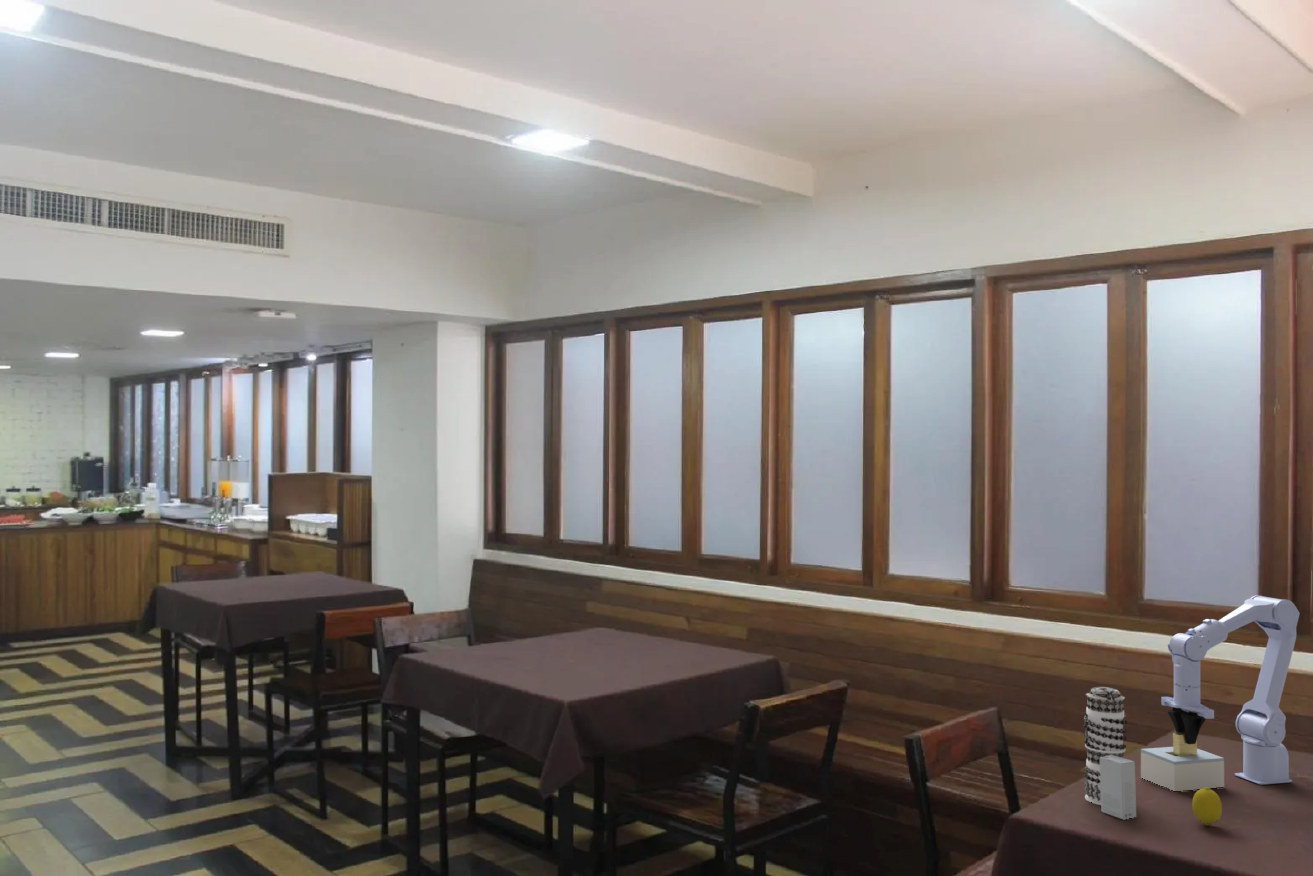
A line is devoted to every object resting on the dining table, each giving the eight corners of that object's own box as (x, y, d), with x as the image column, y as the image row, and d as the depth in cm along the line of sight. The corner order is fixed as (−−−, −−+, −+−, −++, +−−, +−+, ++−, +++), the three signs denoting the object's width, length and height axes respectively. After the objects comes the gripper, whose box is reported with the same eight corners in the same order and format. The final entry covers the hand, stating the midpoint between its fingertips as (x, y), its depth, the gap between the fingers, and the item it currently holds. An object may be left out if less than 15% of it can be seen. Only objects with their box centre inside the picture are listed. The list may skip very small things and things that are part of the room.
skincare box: (1137, 818, 222) (1137, 761, 223) (1122, 821, 220) (1122, 763, 221) (1113, 809, 228) (1113, 753, 228) (1098, 812, 226) (1098, 756, 226)
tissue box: (1188, 774, 255) (1188, 745, 255) (1224, 788, 244) (1224, 758, 244) (1140, 778, 251) (1140, 749, 251) (1174, 792, 241) (1174, 761, 241)
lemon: (1225, 831, 215) (1225, 792, 215) (1196, 829, 216) (1196, 790, 216) (1216, 822, 220) (1216, 784, 220) (1188, 820, 221) (1188, 782, 222)
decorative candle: (1133, 800, 234) (1133, 689, 235) (1119, 810, 227) (1119, 695, 228) (1092, 791, 240) (1092, 683, 241) (1077, 800, 234) (1077, 689, 234)
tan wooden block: (1190, 752, 248) (1190, 731, 248) (1197, 754, 246) (1196, 733, 247) (1173, 754, 247) (1172, 733, 247) (1179, 756, 245) (1179, 735, 245)
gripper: (1150, 679, 253) (1150, 735, 253) (1196, 692, 239) (1196, 751, 239) (1174, 678, 255) (1174, 733, 255) (1221, 690, 241) (1221, 749, 241)
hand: (1186, 742), depth 247 cm, fingers closed on tan wooden block, 2 cm apart
